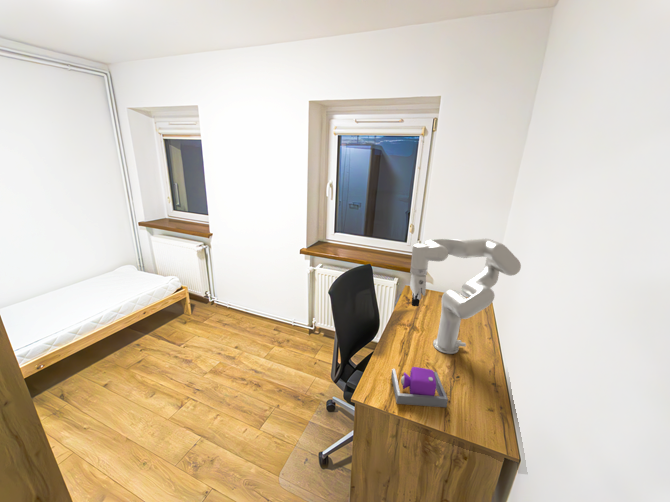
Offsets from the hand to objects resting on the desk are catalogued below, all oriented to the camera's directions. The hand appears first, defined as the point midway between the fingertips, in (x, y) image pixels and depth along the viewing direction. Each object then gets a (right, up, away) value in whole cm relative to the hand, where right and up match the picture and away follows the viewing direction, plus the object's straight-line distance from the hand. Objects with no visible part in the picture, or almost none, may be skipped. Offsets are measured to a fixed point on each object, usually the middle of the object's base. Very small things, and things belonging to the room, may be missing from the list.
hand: (415, 305), depth 138 cm
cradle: (-4, -32, -18) cm, 37 cm away
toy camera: (-5, -33, -20) cm, 38 cm away
